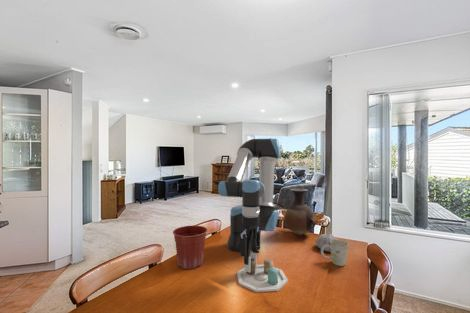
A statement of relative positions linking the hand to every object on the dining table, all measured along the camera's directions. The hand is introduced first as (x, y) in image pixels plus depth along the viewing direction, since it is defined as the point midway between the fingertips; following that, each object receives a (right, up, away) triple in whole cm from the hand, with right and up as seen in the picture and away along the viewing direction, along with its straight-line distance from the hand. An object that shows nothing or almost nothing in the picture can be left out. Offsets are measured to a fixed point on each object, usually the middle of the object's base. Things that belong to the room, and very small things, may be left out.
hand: (250, 269), depth 102 cm
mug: (+42, -3, +13) cm, 44 cm away
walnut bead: (0, -1, 0) cm, 1 cm away
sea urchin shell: (+46, -3, +30) cm, 55 cm away
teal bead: (+9, -2, -7) cm, 11 cm away
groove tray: (+4, -3, -3) cm, 6 cm away
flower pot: (-28, -3, +12) cm, 31 cm away
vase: (+36, -3, +53) cm, 63 cm away
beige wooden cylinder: (+8, -2, +1) cm, 8 cm away
